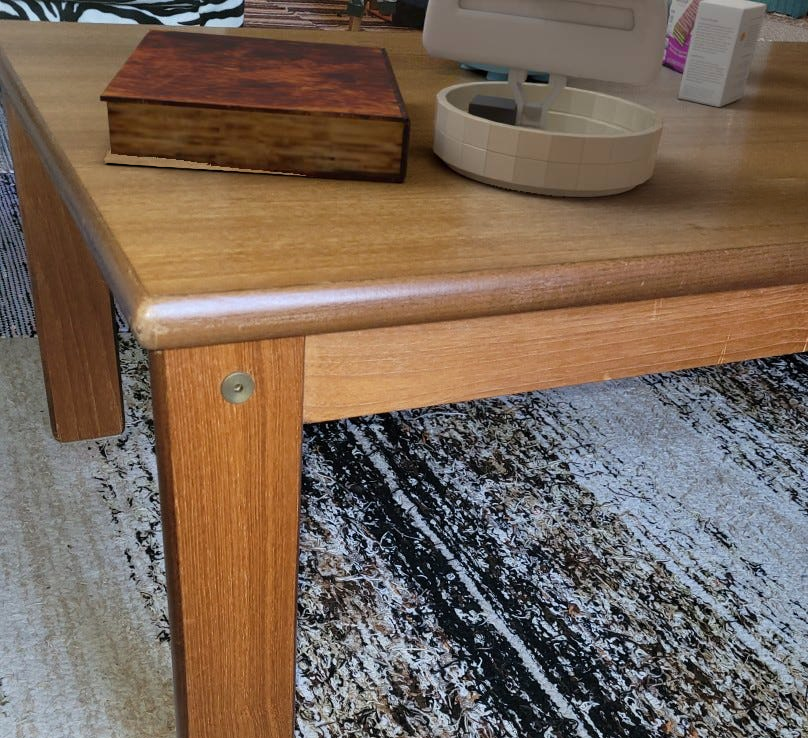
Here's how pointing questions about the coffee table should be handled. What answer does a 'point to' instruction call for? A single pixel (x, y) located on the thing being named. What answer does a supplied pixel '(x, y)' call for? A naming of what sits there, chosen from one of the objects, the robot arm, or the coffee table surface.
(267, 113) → the book
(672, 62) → the candy bar box
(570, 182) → the bowl
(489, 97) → the block
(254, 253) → the coffee table surface
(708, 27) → the small box
